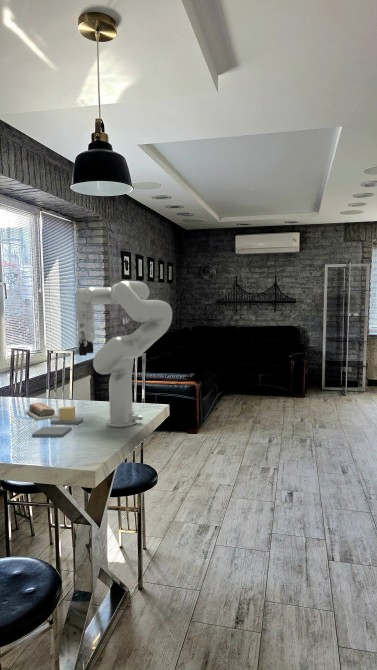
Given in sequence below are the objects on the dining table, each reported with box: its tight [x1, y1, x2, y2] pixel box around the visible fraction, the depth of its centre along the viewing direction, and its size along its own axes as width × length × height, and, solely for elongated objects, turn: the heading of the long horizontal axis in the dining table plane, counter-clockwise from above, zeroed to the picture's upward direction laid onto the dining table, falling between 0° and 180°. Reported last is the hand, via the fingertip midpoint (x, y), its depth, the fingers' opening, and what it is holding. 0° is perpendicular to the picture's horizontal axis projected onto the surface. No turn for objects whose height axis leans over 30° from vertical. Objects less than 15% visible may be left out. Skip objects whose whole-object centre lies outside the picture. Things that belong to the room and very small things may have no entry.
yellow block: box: [50, 406, 84, 425], centre depth 189 cm, size 12×6×6 cm, turn 85°
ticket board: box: [31, 426, 73, 438], centre depth 173 cm, size 12×10×1 cm
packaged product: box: [25, 402, 59, 422], centre depth 203 cm, size 18×5×10 cm
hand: (86, 354), depth 197 cm, fingers open, 9 cm apart
